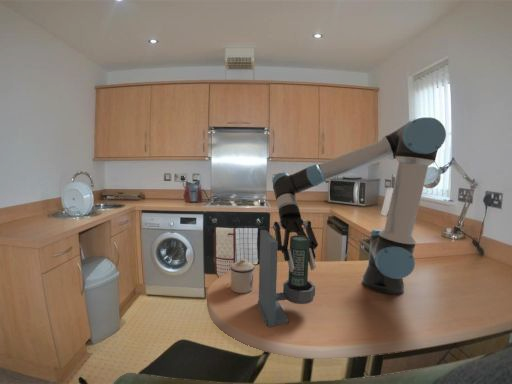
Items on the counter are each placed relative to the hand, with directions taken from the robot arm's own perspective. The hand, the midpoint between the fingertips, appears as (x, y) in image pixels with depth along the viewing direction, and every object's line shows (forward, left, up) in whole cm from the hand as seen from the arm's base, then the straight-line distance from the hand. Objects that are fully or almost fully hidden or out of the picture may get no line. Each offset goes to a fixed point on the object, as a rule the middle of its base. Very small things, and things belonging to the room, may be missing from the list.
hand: (302, 269), depth 83 cm
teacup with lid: (+16, -23, -16) cm, 32 cm away
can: (0, -4, -6) cm, 7 cm away
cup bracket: (+4, -3, -16) cm, 16 cm away
